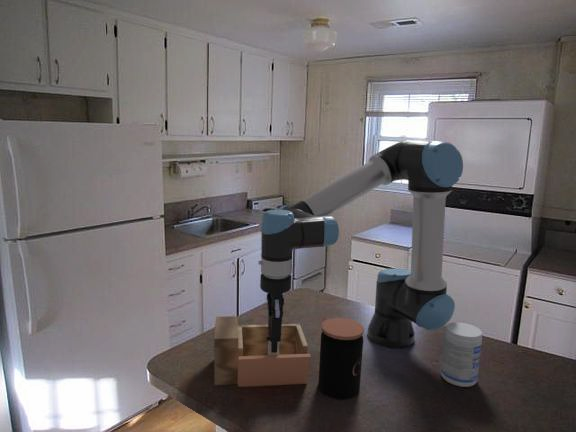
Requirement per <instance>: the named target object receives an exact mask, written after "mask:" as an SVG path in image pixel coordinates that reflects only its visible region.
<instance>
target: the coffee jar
mask: <svg viewBox="0 0 576 432" xmlns="http://www.w3.org/2000/svg"><path fill="white" fill-rule="evenodd" d="M321 331H322V332H321V334H320V349H319V363H318V364H319V368H318V384H317V385H318V389H319V391H320V392H321V393H322V394H323V395H324V396H327V397H328V398H331V399H335V400H342V401H343V400H350V399H353V398H355V397H356V396H357V395H358V394H359V392H360V390H361V388H360V386H361V376H362V375H361V373H362V362H363V361H362V360H363V350H364V348H363V347H364V336H363V335H364V332H365V328H364V326H363V325H362V324H361V323H360V322H358V321H356V320H354V319H351V318H350V319H349V318H344V317H334V318H329V319H326V320H324V321H323V322H322V324H321Z"/></svg>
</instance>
